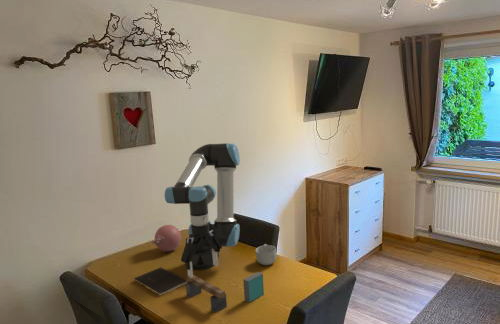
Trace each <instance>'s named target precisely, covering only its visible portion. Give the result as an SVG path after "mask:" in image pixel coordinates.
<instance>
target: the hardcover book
mask: <svg viewBox="0 0 500 324" xmlns="http://www.w3.org/2000/svg"><path fill="white" fill-rule="evenodd" d="M133 279H134V281H135V280H137V281H138V282H140V283H142V284H143V285H145V286H147V287H148V288H150V289H151V290H153V291H154V292H156V293H158V294H159V295H158V294H157V295H158V296H160V295H162V294H164V295H166V294H168V293H170V292H172V291H174V290H177V289H178V287H179V288H181V287H182V286H186V283H188V281H187V278H186V279H185V278H183V277H181V276H179V275H177V274H176V273H173V272H171V271H169V270H167V269H166V268H163V267H158V268H156V269H153V270H151V271H148V272H146V273H144V274H141V275H139V276H136V277H134V278H133ZM148 288H147V289H148ZM176 288H177V289H176ZM151 290H150V291H151ZM171 290H172V291H171ZM153 291H152V292H153ZM169 291H170V292H169ZM154 292H153V293H154ZM167 292H168V293H167ZM156 293H155V294H156ZM165 293H166V294H165ZM162 296H163V295H162Z"/></svg>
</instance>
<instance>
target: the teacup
mask: <svg viewBox="0 0 500 324" xmlns="http://www.w3.org/2000/svg"><path fill="white" fill-rule="evenodd" d="M254 251H255V257H256V260H257V262H258V263H259V264H260V265H262V266H270V265H272V264H273V263H275V262H276V260H277V248H276V246H274V245H269V244H267V243H264V244H263V245H260V246H258V247H256V248H255V250H254Z"/></svg>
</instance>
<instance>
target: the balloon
mask: <svg viewBox="0 0 500 324" xmlns="http://www.w3.org/2000/svg"><path fill="white" fill-rule="evenodd" d="M181 241H182V234H181V231H180V230H179V228H178V227H176V226H175V225H173V224H164V225H162V226H160V227H159V228H158V229H157V230H156V232H155V235H154V240H152V241H151V243H152V244H154V245H156V247H157V248H158V249H159V250H161V251H163V252H172V251H174V250H176V249H177V248H178V247H179V246H180V244H181Z"/></svg>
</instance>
